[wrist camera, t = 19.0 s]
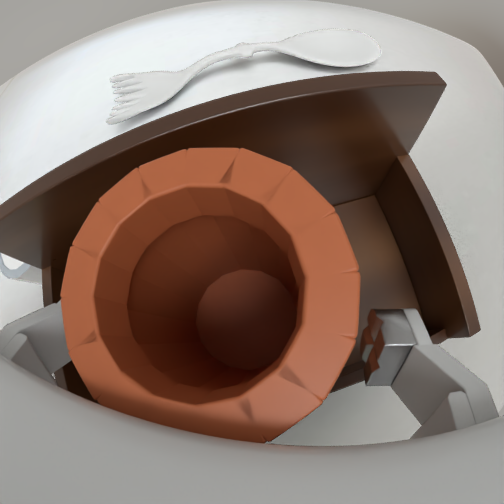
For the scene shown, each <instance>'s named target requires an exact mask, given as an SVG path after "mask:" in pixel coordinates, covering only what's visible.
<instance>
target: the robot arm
mask: <svg viewBox="0 0 504 504" xmlns="http://www.w3.org/2000/svg"><path fill="white" fill-rule="evenodd" d="M367 321H368V326H367V327H366V328H365V329H363V332H362V336H361V341H360V354H361V358H362V359H363V360H364V361H365V362H366V363H365V366H364V368H363V372H364V378H365V384H366V386H391V388H392V389H393V390H394V391H395V393H396V394H397V395H398V396H399V398H400V399H401V400H402V401H403V403H404V404H405V405H406V406H407V408H408V409H409V410H410V411H411V412H412V414H413V415H414V416H415V417H416V419H417V420H418V421H419V422H420V424H421V425H422V426H421V427H420V428H419V429H418V430H417V431H416V432H415V433H414V434H413V435H412V437H411V438H410V439H409V440H402V441H395V442H387V443H377V444H366V445H349V446H294V445H277V444H265V443H256V442H247V441H239V440H232V439H226V438H220V437H214V436H208V435H203V434H198V433H193V432H189V431H184V430H180V429H176V428H172V427H168V426H164V425H160V424H157V423H153V422H150V421H146V420H143V419H140V418H137V417H133V416H130V415H127V414H124V413H121V412H118V411H116V410H113V409H110V408H107V407H105V406H102V405H100V404H97V403H94V402H92V401H90V400H87V399H85V398H82V397H80V396H78V395H75V394H73V393H71V392H69V391H67V390H65V389H62V388H60V387H58V386H57V382H56V380H55V379H54V378H53V376H52V375H51V374H52V373H54V372H55V371H57V370H58V369H60V368H61V367H63V366H64V365H65V364H67V363H68V362H70V361H71V360H72V359H71V358H70V356H69V353H68V352H69V350H68V348H67V343H66V338H65V331H64V325H63V317H62V309H61V300H60V301H59V302H58V303H57V304H56V303H53V304H51V305H48V306H46V307H44V308H42V309H40V310H37V311H35V312H33V313H31V314H28V315H26V316H24V317H22V318H20V319H18V320H15V321H13V322H11V323H9V324H7V325H6V326H5V327H4V328H3V329H2V330H1V331H0V504H504V415H503V416H500V417H499V415H498V412H497V409H496V406H495V404H494V401H493V399H492V396H491V393H490V391H489V388H488V386H487V384H486V383H484V382H483V381H482V380H481V379H480V378H478V377H477V376H476V375H475V374H474V373H472V372H471V371H470V370H469V369H467V368H466V367H465V366H464V365H463V364H461V363H460V362H459V361H458V360H456V359H455V358H454V357H453V356H451V355H450V354H449V353H448V352H446V351H445V350H444V349H442V348H441V347H440V346H439V345H437V344H433V343H432V341H431V339H430V337H429V334H428V332H427V330H426V328H425V325H424V323H423V321H422V319H421V317H420V315H419V312H418V311H417V310H416V309H415V308H409V309H372V308H371V310H370V312H369V314H368V317H367Z"/></svg>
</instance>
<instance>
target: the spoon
mask: <svg viewBox="0 0 504 504" xmlns="http://www.w3.org/2000/svg"><path fill="white" fill-rule="evenodd" d="M260 51H275V52H281V53H285V54H288V55H291V56H294V57H298V58H301V59H304V60H307V61H311V62H314V63H318V64H323V65H328V66H336V67H353V66H360V65H365V64H368V63H371V62H373V61H375V60H376V59H378V58H379V57H380V55H381V47H380V45H379V44H378V43H377V41H376V40H375V39H374V38H372V37H371V36H369V35H367V34H365V33H363V32H360V31H356V30H351V29H322V30H316V31H310V32H304V33H300V34H297V35H295V36H292V37H290V38H287V39H285V40H282V41H279V42H267V43H255V44H247V43H239V44H237V45H236V46H235V47H232V48H229V49H226V50H222V51H219V52H216V53H213V54H211V55H208V56H206V57H204V58H203V59H201V60H199V61H197V62H196V63H194V64H193V65H191V66H190V67H188V68H186V69H184V70H182V71H177V72H169V71H152V72H145V73H132V74H120V75H116V76H113V77H111V78H110V82H112V83H115V82H119V83H116V84H114V85H113V86H112V87H113V88H120V89H117V90H115V91H114V92H113V93H114V94H125V93H130V94H126V95H123V96H120V97H118V98H116V99H115V100H114V101H115V102H126V103H122V104H119V105H117V106H115V107H113V108H112V110H116V111H114V112H112V113H111V114H110V116H113V117H111V118H109V119H107V120H106V123H107V124H109V125H112V124H117V123H120V122H122V121H125V120H127V119H129V118H131V117H133V116H135V115H137V114H139V113H142V112H144V111H147V110H149V109H151V108H154V107H156V106H158V105H161V104H162V103H164V102H166V101H168V100H169V99H170V98H172V97H173V96H174V95H175V94H176V93H178V92H179V91H180V90H181V89H182V88H183V87H184V86H185V85H186V84H187V83H188V82H189V81H190V80H191V79H192V78H193V77H194V76H195V75H197V74H198V73H199V72H201V71H202V70H203V69H205V68H206V67H208V66H210V65H212V64H214V63H216V62H219V61H223V60H227V59H231V58H237V57H242V58H249V57H252V56H253V54H254V53H256V52H260Z"/></svg>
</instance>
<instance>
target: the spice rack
mask: <svg viewBox="0 0 504 504" xmlns="http://www.w3.org/2000/svg"><path fill="white" fill-rule="evenodd" d="M446 86H447V84H446V83H445V82H444V80H443V79H442V78H441V77H440V76H439V75H438V74H437V73H436V72H425V71H385V72H365V73H352V74H341V75H332V76H324V77H317V78H310V79H303V80H297V81H292V82H286V83H281V84H276V85H271V86H266V87H262V88H257V89H253V90H249V91H245V92H241V93H237V94H233V95H229V96H226V97H222V98H218V99H215V100H212V101H208V102H205V103H202V104H199V105H196V106H192V107H189V108H186V109H184V110H181V111H178V112H175V113H172V114H169V115H167V116H164V117H161V118H159V119H156V120H154V121H151V122H149V123H146V124H144V125H141V126H139V127H136V128H134V129H132V130H130V131H127V132H125V133H123V134H121V135H118V136H116V137H114V138H112V139H110V140H108V141H106V142H103V143H101V144H99V145H97V146H95V147H93V148H91V149H89V150H88V151H86V152H84V153H82V154H80V155H78V156H76V157H74V158H73V159H71V160H69V161H67V162H65V163H64V164H62V165H60V166H59V167H57V168H55V169H53V170H52V171H50V172H48V173H47V174H45V175H44V176H42V177H40V178H39V179H37V180H36V181H34V182H33V183H31V184H30V185H28V186H27V187H25V188H24V189H22V190H21V191H19V192H18V193H16V194H15V195H14V196H12V197H11V198H9V199H8V200H7V201H5V202H4V203H3V204H1V205H0V253H2V254H5V255H7V256H9V257H12V258H14V259H16V260H19V261H21V262H24V263H26V264H29V265H31V266H34V267H36V268H39V269H42V289H43V302H44V307H46V306H48V305H51V304H53V303H56V304H57V303H58V302H59V301H60V300H61V298H62V297H61V296H60V294H61V288H62V283H63V277H64V272H65V268H66V263H67V259H68V254H69V250H70V247H71V246H73V245H72V243H73V241H74V239H75V237H76V236H77V234H78V232H79V230H80V229H81V227H82V225H83V223H84V222H85V220H86V218H87V217H88V215H89V214H90V212H91V210H92V209H93V207H94V206H95V204H96V203H97V202H99V198H101V197H102V196H103V195H104V194H105V193H106V192H107V191H108V190H110V189H111V188H112V187H113V186H114V185H115V184H117V183H118V182H119V181H120V180H121V179H123V178H124V177H125V176H126V175H127V174H129V173H130V172H131V171H132V170H134V169H135V168H139V166H141V165H143V164H146V163H148V162H151V161H153V160H156V159H158V158H161V157H164V156H166V155H169V154H172V153H174V152H177V151H180V150H183V149H186V150H188V149H189V148H239V149H240V148H244V149H247V150H250V151H252V152H255V153H258V154H260V155H263V156H266V157H268V158H271V159H273V160H276V161H278V162H281V163H283V164H286V165H288V166H291V167H292V168H293V170H296V171H297V172H298V173H299V174H300V175H301V176H302V177H303V178H304V179H305V180H306V181H308V182H309V183H310V184H311V185H312V186H313V187H314V188H315V189H316V190H317V191H318V192H319V193H320V194H321V195H322V196H323V197H324V198H325V199H326V200H327V201H328V202H329V203H330V204H331V205H332V206H333V207H334V209H335V212H336V213H337V214H338V216H339V218H340V220H341V223H342V225H343V227H344V230H345V232H346V235H347V237H348V240H349V242H350V245H351V247H352V250H353V252H354V255H355V258H356V260H357V263H358V265H359V270H358V271H357V272H359V273H360V276H361V280H360V306H359V323H358V335H357V337H356V338H354V339H355V340H356V344H355V346H354V348H353V350H352V352H351V354H350V356H349V358H348V360H347V362H346V364H345V365H344V367H343V369H342V371H341V373H340V375H339V377H338V378H337V380H336V382H335V384H334V386H333V387H332V389H331V391H330V393H332V392H335V391H338V390H340V389H343V388H346V387H348V386H351V385H353V384H356V383H358V382H361V381H363V380H365V378H364V372H363V368H364V366H365V363H366V362H365V361H364V360H363V359H362V358H361V354H360V341H361V336H362V332H363V329H365V328H366V327H367V326H368V321H367V317H368V314H369V312H370V310H371V308H372V309H409V308H415V309H416V310H417V311H418V312H419V315H420V317H421V319H422V321H423V323H424V325H425V328H426V330H427V332H428V334H429V337H430V339H431V341H432V343H433V344H437V345H438V344H439V343H441V342H443V341H445V340H446V339H447V338H464V337H471V336H473V335H474V334H476V333H477V332H479V331H480V330H481V329H480V325H479V321H478V317H477V313H476V309H475V305H474V302H473V298H472V295H471V292H470V289H469V285H468V282H467V279H466V276H465V273H464V271H463V268H462V265H461V262H460V260H459V257H458V254H457V252H456V249H455V247H454V244H453V242H452V239H451V237H450V234H449V232H448V230H447V227H446V225H445V223H444V221H443V219H442V216H441V214H440V212H439V210H438V208H437V206H436V204H435V202H434V200H433V198H432V196H431V194H430V192H429V190H428V188H427V186H426V184H425V182H424V181H423V179H422V177H421V175H420V173H419V171H418V170H417V168H416V166H415V164H414V163H413V161H412V159H411V158H410V156H409V152H410V150H411V149H412V147H413V145H414V144H415V142H416V140H417V139H418V137H419V135H420V133H421V132H422V130H423V128H424V126H425V125H426V123H427V121H428V119H429V118H430V116H431V114H432V112H433V110H434V108H435V107H436V105H437V103H438V101H439V99H440V97H441V95H442V93H443V91H444V90H445V88H446ZM54 374H55V379H56V382H57V386H58V387H60V388H62V389H65V390H67V391H69V392H71V393H73V394H75V395H78V396H80V397H82V398H85V399H87V400H90V401H92V402H94V403H97V404H99V403H98V401H97V400H94V399H93V397H92V395H91V394H90V392H89V390H88V389H87V387H86V385H85V384H84V382H83V380H82V378H81V376H80V375H79V373H78V371H77V369H76V367H75V365H74V363H73V361H72V360H71V361H70V362H68V363H67V364H65V365H64V366H63V367H61V368H60V369H58V370H57V371H55V372H54Z"/></svg>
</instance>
